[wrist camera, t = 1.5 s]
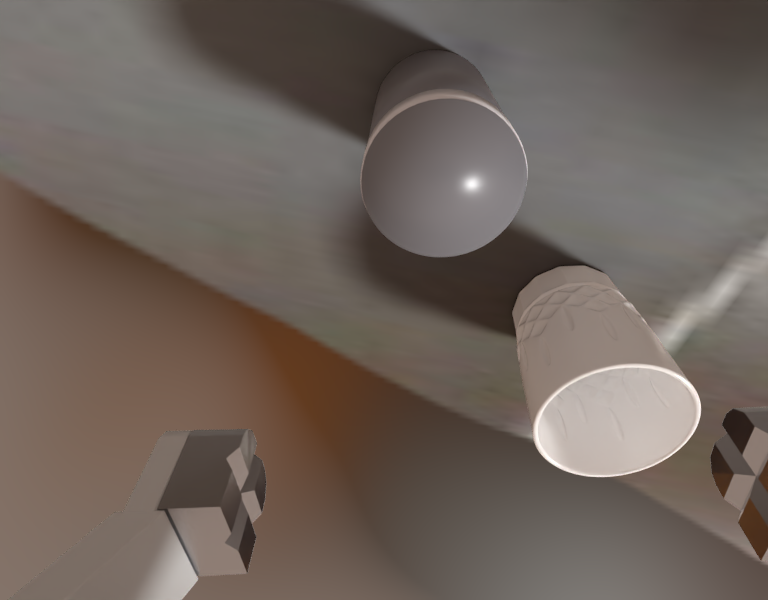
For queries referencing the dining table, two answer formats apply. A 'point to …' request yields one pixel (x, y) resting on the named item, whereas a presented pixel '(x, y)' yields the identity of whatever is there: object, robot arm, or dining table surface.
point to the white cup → (598, 377)
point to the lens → (441, 158)
